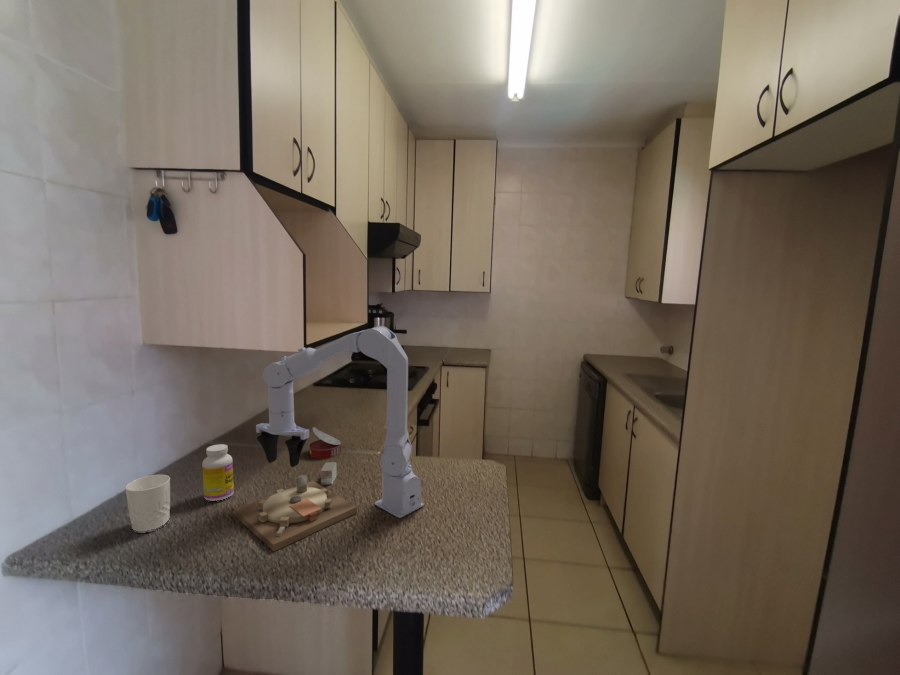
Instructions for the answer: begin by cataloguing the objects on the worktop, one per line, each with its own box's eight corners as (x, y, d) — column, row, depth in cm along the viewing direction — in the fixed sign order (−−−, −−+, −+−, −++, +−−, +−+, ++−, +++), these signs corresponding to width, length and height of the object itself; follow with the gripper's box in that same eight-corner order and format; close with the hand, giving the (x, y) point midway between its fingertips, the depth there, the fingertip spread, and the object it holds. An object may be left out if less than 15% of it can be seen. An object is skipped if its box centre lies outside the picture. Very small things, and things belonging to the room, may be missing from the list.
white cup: (179, 514, 96) (176, 473, 95) (161, 533, 88) (158, 489, 87) (141, 517, 95) (138, 475, 94) (120, 537, 87) (116, 492, 86)
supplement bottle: (228, 502, 102) (226, 451, 100) (199, 504, 101) (196, 453, 99) (237, 489, 108) (235, 442, 107) (210, 491, 107) (208, 443, 106)
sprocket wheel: (345, 506, 97) (345, 486, 97) (278, 536, 85) (277, 513, 84) (309, 484, 108) (309, 465, 107) (244, 508, 96) (243, 487, 95)
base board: (356, 512, 98) (356, 504, 97) (273, 551, 83) (273, 541, 82) (312, 485, 111) (312, 478, 111) (234, 515, 96) (233, 506, 96)
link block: (325, 475, 117) (325, 462, 117) (336, 475, 117) (336, 462, 117) (321, 484, 112) (320, 470, 111) (332, 484, 112) (331, 470, 111)
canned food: (320, 461, 138) (325, 431, 142) (345, 462, 135) (350, 432, 138) (297, 457, 129) (304, 425, 132) (324, 458, 125) (330, 425, 129)
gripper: (316, 408, 102) (318, 461, 104) (269, 403, 107) (271, 453, 109) (297, 416, 96) (299, 472, 97) (248, 410, 100) (250, 463, 102)
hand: (283, 463), depth 102 cm, fingers open, 6 cm apart
